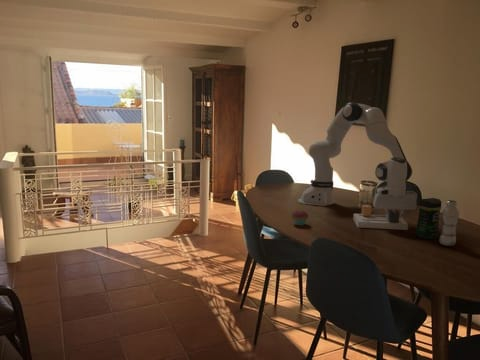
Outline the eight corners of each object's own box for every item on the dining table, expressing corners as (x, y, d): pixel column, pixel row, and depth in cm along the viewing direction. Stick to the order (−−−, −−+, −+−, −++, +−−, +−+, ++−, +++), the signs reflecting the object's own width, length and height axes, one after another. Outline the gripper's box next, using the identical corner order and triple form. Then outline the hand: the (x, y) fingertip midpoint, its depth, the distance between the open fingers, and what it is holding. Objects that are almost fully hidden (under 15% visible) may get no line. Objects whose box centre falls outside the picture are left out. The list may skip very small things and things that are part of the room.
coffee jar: (427, 240, 180) (431, 201, 177) (412, 236, 187) (416, 197, 184) (441, 238, 185) (445, 199, 182) (426, 233, 192) (430, 195, 188)
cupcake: (309, 223, 206) (310, 200, 204) (306, 227, 198) (307, 204, 196) (292, 221, 209) (293, 199, 207) (289, 225, 201) (290, 202, 199)
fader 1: (363, 216, 208) (363, 206, 208) (361, 213, 213) (362, 204, 212) (370, 216, 208) (371, 207, 207) (369, 214, 213) (369, 204, 212)
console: (357, 227, 200) (358, 221, 199) (353, 218, 215) (353, 213, 215) (407, 229, 197) (408, 223, 196) (399, 221, 212) (399, 215, 212)
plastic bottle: (435, 243, 178) (440, 199, 174) (449, 242, 178) (454, 199, 175) (443, 248, 171) (448, 202, 168) (458, 247, 172) (464, 202, 168)
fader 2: (390, 222, 198) (391, 212, 197) (388, 219, 203) (388, 209, 202) (398, 222, 198) (399, 212, 197) (396, 219, 202) (397, 210, 202)
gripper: (415, 190, 199) (413, 216, 202) (373, 188, 202) (371, 214, 204) (419, 192, 193) (417, 220, 196) (376, 191, 196) (374, 218, 198)
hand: (393, 217), depth 200 cm, fingers closed on fader 2, 4 cm apart
